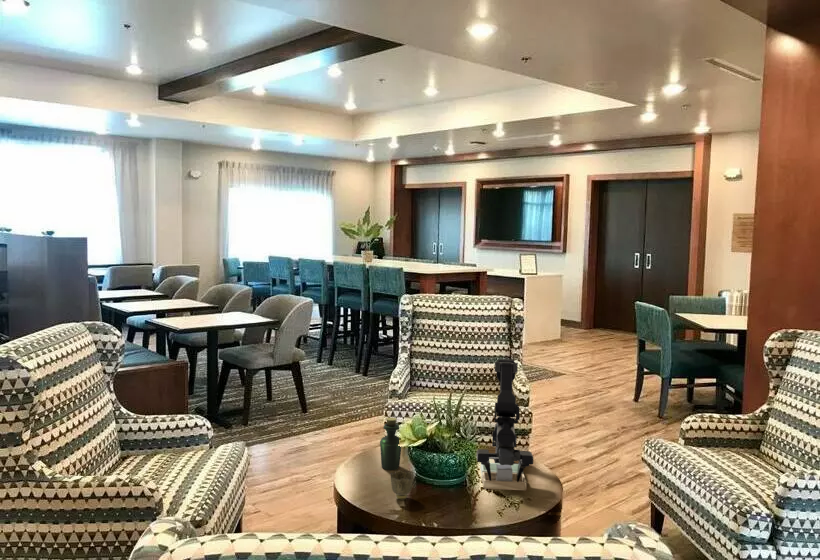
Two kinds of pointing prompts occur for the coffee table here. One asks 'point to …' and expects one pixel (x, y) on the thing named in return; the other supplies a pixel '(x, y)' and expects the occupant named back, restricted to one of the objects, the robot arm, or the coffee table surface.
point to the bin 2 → (503, 482)
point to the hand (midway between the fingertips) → (503, 481)
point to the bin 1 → (493, 468)
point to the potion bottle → (390, 446)
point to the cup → (401, 483)
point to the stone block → (503, 472)
